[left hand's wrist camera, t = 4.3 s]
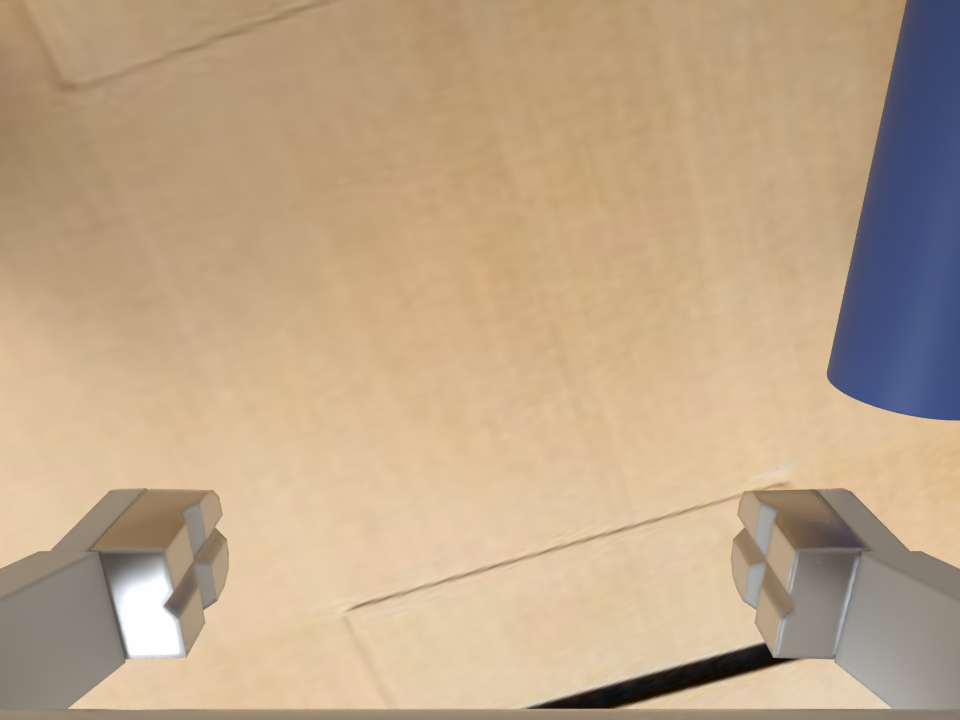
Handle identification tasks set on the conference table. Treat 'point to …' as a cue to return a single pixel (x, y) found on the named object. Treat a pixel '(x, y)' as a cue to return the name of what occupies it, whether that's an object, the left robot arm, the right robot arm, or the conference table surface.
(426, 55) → the conference table surface
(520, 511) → the conference table surface
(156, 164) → the conference table surface
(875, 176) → the rod
